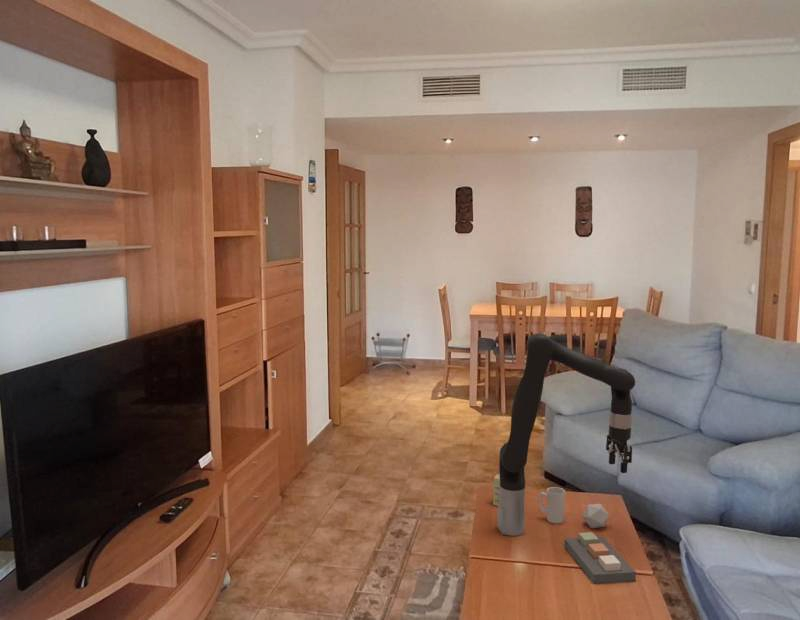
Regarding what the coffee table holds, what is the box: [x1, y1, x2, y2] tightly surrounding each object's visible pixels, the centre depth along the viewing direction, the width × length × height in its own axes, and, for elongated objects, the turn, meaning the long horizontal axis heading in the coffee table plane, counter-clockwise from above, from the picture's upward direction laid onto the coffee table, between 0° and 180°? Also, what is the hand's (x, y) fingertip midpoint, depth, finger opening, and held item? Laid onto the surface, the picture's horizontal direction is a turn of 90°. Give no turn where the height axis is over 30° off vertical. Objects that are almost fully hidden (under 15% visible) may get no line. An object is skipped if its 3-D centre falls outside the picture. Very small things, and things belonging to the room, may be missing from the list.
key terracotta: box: [588, 543, 609, 559], centre depth 204 cm, size 5×5×4 cm
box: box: [492, 473, 500, 507], centre depth 250 cm, size 10×6×12 cm, turn 65°
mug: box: [537, 486, 566, 524], centre depth 236 cm, size 10×7×12 cm, turn 80°
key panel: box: [563, 535, 637, 585], centre depth 205 cm, size 14×24×3 cm, turn 7°
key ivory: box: [598, 555, 621, 572], centre depth 197 cm, size 5×5×4 cm
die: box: [582, 503, 610, 529], centre depth 231 cm, size 8×9×10 cm
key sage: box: [578, 531, 598, 547], centre depth 212 cm, size 5×5×4 cm
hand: (617, 468), depth 221 cm, fingers open, 8 cm apart
